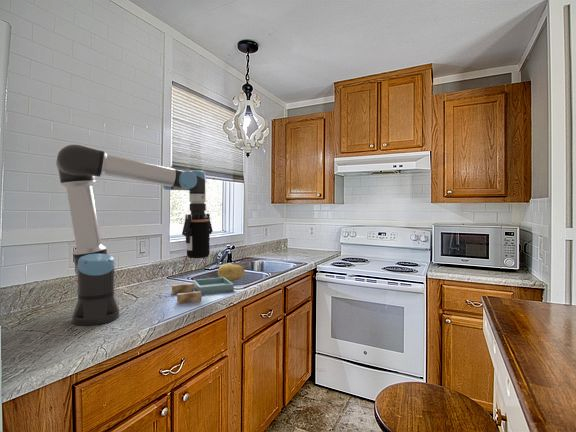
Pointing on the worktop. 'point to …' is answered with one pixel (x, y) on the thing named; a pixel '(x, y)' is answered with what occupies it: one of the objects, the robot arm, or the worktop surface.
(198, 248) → the coffee jar
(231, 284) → the bin
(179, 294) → the oak cradle
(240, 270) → the potato
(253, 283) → the worktop surface
